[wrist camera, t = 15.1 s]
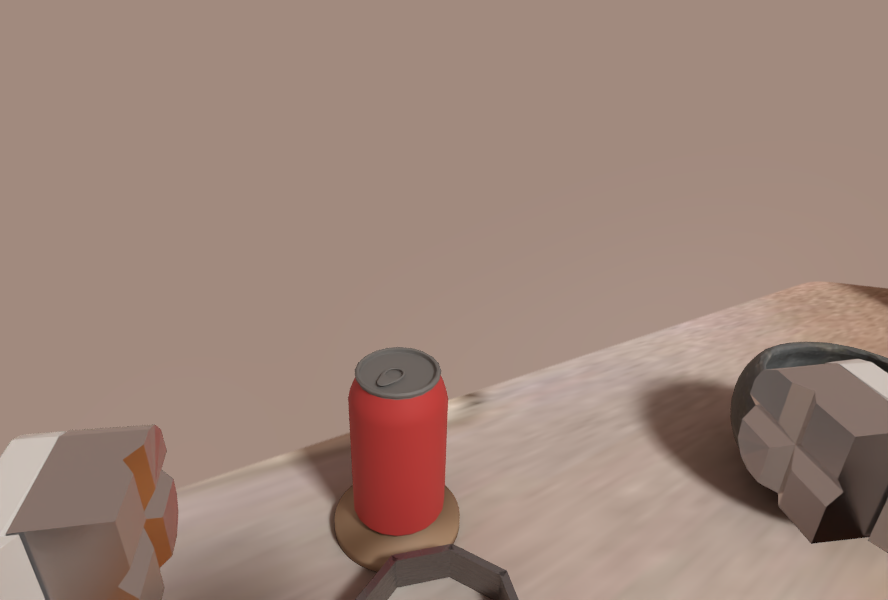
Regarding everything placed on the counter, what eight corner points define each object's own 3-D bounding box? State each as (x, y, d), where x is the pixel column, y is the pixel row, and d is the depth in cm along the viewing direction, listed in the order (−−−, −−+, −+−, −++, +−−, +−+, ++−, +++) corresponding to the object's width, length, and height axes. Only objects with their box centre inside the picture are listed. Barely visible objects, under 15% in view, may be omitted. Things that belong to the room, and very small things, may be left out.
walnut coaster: (308, 537, 44) (307, 528, 44) (383, 462, 51) (382, 454, 51) (415, 596, 40) (415, 587, 40) (480, 506, 47) (481, 498, 47)
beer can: (334, 513, 45) (324, 375, 40) (391, 461, 50) (390, 332, 44) (407, 557, 42) (408, 413, 36) (461, 497, 47) (468, 363, 41)
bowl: (822, 417, 58) (858, 323, 53) (977, 544, 45) (1042, 435, 40) (679, 437, 55) (704, 340, 50) (801, 581, 42) (849, 467, 37)
